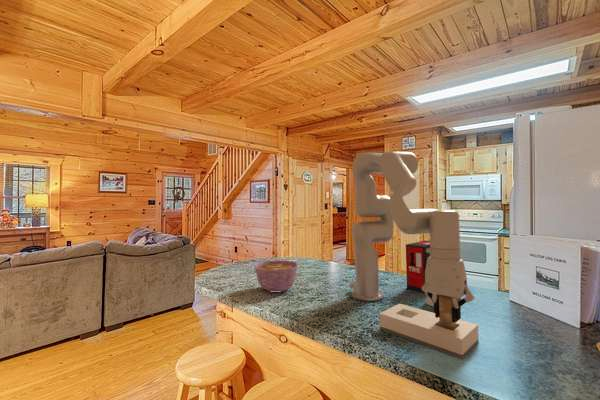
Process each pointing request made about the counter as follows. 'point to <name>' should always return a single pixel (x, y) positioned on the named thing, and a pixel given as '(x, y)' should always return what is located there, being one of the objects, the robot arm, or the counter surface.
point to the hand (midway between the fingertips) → (447, 318)
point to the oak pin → (446, 312)
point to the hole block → (429, 330)
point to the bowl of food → (276, 274)
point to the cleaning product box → (416, 264)
